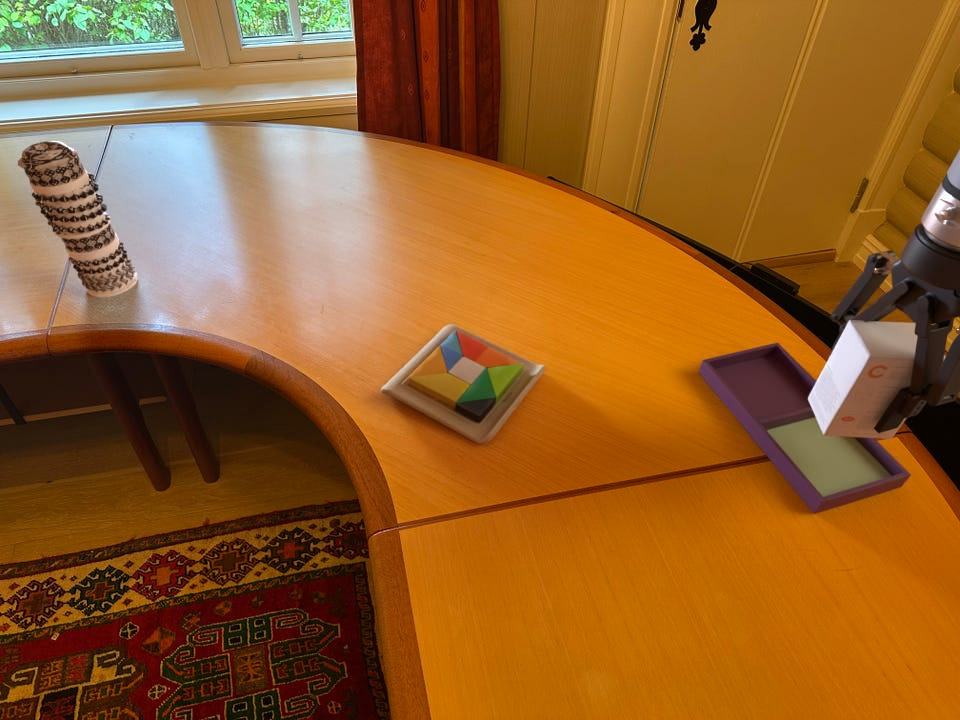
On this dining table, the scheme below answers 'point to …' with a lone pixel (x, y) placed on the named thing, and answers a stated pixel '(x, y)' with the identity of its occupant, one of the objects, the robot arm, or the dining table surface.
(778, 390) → the purple divided tray
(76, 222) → the decorative candle
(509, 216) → the dining table surface
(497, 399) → the wooden puzzle
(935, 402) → the robot arm
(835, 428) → the small box
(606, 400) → the dining table surface
